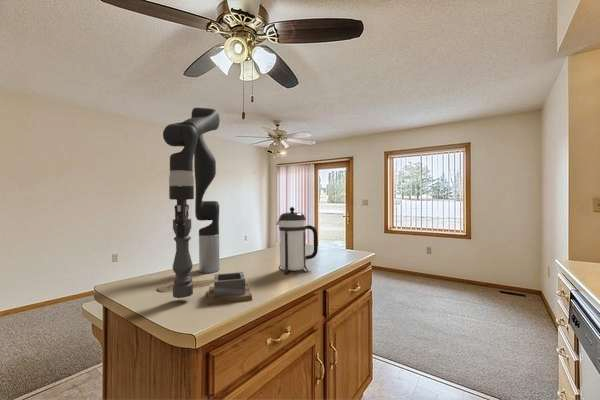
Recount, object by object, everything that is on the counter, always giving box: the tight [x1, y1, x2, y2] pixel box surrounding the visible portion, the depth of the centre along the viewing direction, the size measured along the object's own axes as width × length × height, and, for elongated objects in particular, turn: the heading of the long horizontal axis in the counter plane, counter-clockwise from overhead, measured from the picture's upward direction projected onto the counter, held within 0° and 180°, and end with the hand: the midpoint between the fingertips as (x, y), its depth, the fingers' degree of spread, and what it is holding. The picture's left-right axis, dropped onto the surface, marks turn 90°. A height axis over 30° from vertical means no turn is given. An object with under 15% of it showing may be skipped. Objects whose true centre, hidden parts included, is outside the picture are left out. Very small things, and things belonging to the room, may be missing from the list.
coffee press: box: [275, 206, 319, 275], centre depth 130 cm, size 17×16×30 cm
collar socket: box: [207, 271, 253, 306], centre depth 96 cm, size 14×14×6 cm
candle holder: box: [172, 218, 194, 299], centre depth 91 cm, size 6×6×25 cm
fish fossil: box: [156, 279, 214, 293], centre depth 109 cm, size 26×10×1 cm, turn 125°
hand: (182, 235), depth 91 cm, fingers closed on candle holder, 5 cm apart
